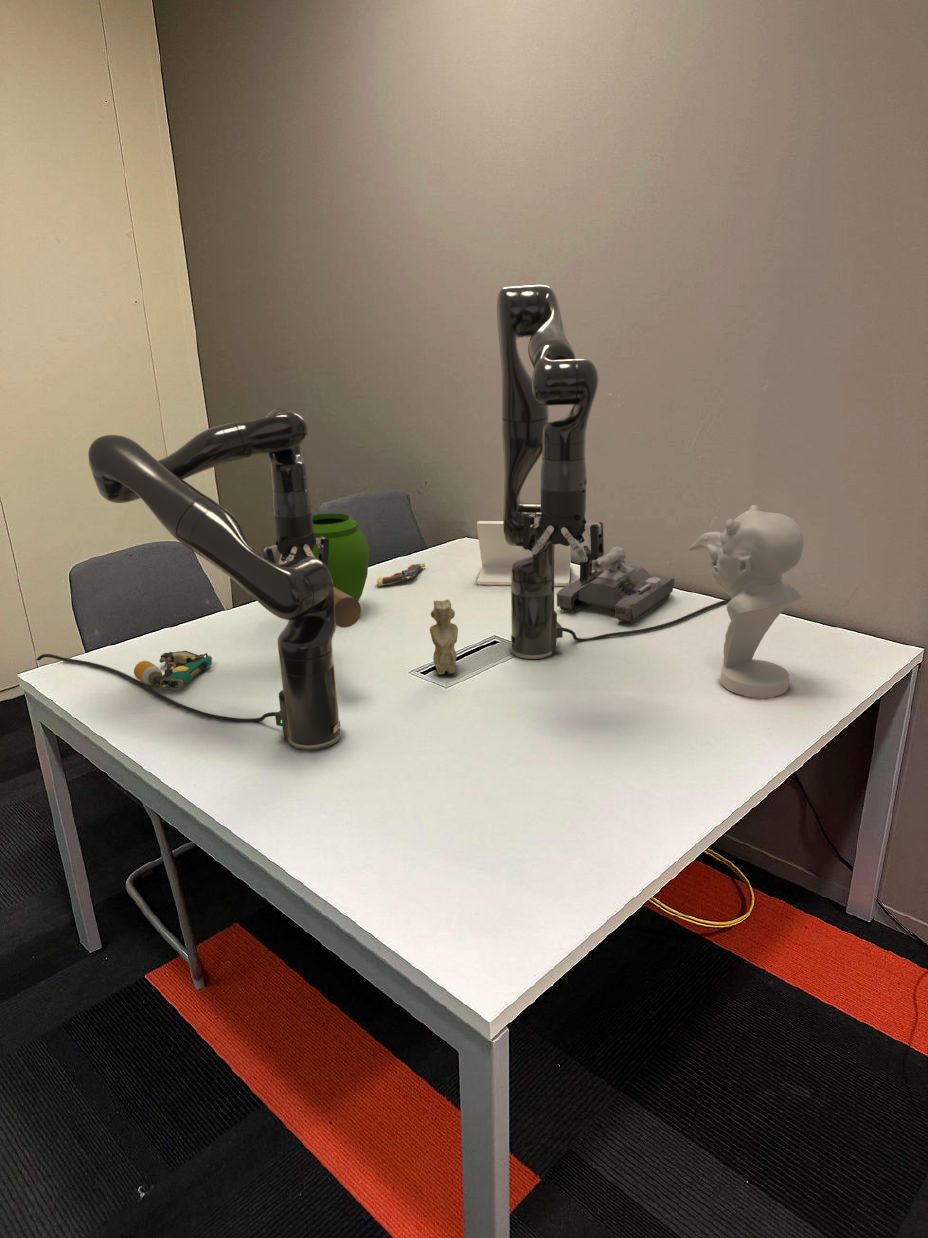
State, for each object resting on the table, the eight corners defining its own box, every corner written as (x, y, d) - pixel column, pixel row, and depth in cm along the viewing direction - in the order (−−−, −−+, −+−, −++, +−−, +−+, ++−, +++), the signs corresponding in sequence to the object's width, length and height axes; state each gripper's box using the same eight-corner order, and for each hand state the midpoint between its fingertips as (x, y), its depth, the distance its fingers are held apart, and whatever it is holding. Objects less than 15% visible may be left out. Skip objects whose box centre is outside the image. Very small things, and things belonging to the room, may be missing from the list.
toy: (603, 584, 229) (605, 530, 224) (673, 597, 218) (677, 540, 213) (555, 612, 210) (556, 553, 205) (630, 627, 199) (633, 566, 194)
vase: (389, 608, 216) (383, 514, 208) (339, 633, 201) (330, 533, 192) (330, 596, 226) (322, 506, 218) (278, 619, 211) (267, 523, 202)
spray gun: (177, 659, 191) (231, 671, 185) (120, 684, 176) (176, 698, 171) (176, 641, 190) (230, 653, 184) (118, 665, 175) (174, 678, 169)
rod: (362, 623, 162) (360, 594, 160) (334, 630, 159) (331, 600, 157) (306, 589, 182) (303, 563, 180) (280, 595, 179) (277, 568, 177)
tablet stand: (569, 585, 229) (570, 524, 223) (476, 584, 232) (475, 523, 226) (570, 566, 246) (571, 508, 240) (484, 564, 249) (483, 507, 243)
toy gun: (374, 578, 232) (409, 575, 230) (392, 563, 250) (425, 560, 247) (376, 588, 232) (411, 585, 230) (394, 572, 250) (427, 569, 248)
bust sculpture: (721, 647, 187) (735, 489, 174) (811, 688, 167) (833, 512, 154) (664, 663, 180) (674, 499, 167) (750, 707, 160) (769, 525, 147)
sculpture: (458, 662, 183) (456, 596, 178) (460, 676, 176) (457, 608, 171) (431, 663, 183) (428, 597, 177) (431, 677, 176) (428, 609, 171)
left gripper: (317, 502, 178) (324, 579, 184) (251, 513, 170) (260, 592, 176) (333, 509, 172) (339, 588, 178) (266, 520, 164) (274, 602, 170)
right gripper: (514, 485, 142) (515, 577, 148) (592, 493, 135) (590, 590, 141) (536, 477, 148) (536, 566, 154) (612, 484, 141) (609, 578, 146)
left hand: (300, 590), depth 177 cm, fingers closed on rod, 6 cm apart
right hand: (562, 577), depth 147 cm, fingers open, 8 cm apart
